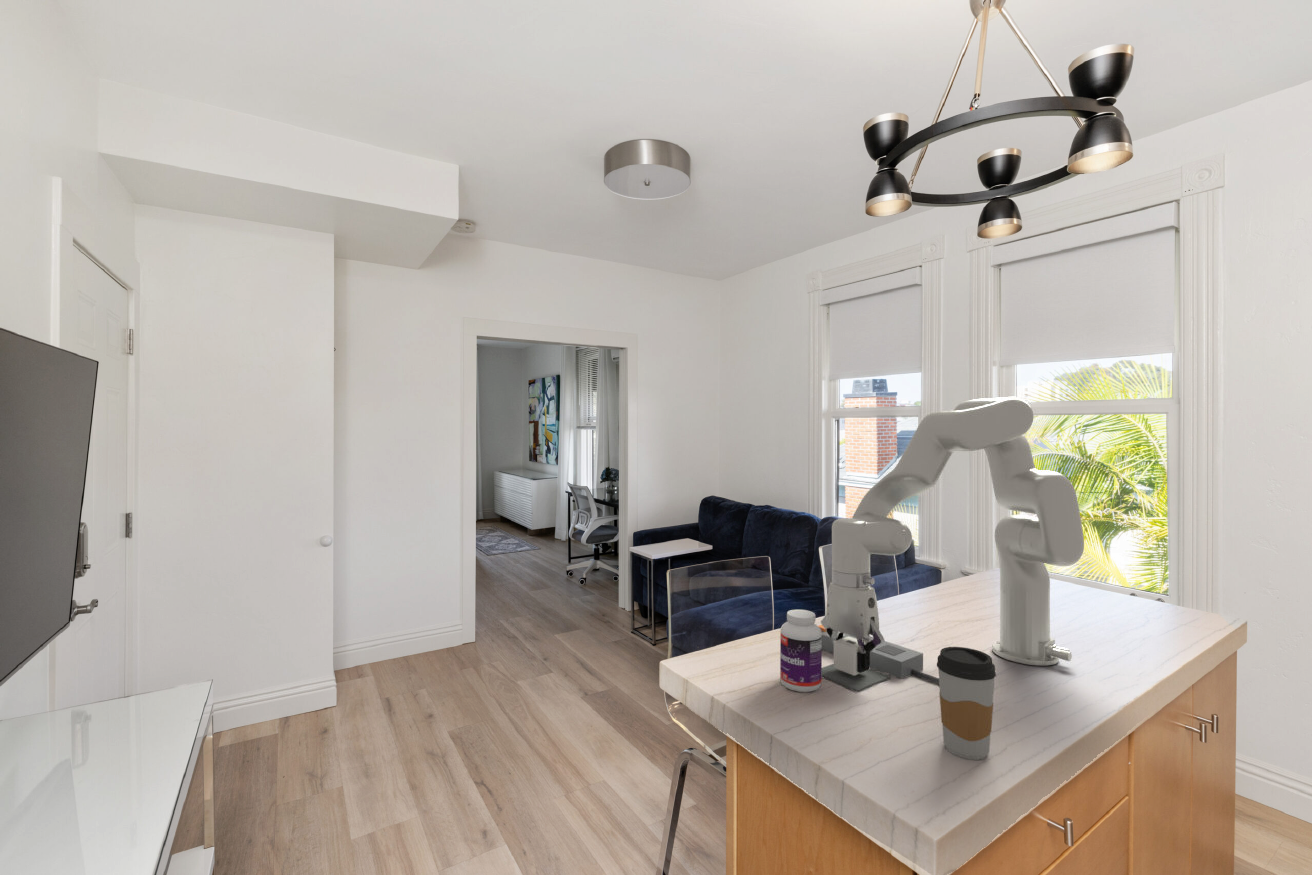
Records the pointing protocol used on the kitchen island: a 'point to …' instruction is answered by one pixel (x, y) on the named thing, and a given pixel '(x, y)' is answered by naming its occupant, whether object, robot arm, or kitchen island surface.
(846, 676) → the mat
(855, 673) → the block
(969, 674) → the coffee cup
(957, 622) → the kitchen island surface
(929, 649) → the kitchen island surface
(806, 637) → the pill bottle
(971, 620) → the kitchen island surface
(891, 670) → the power strip
